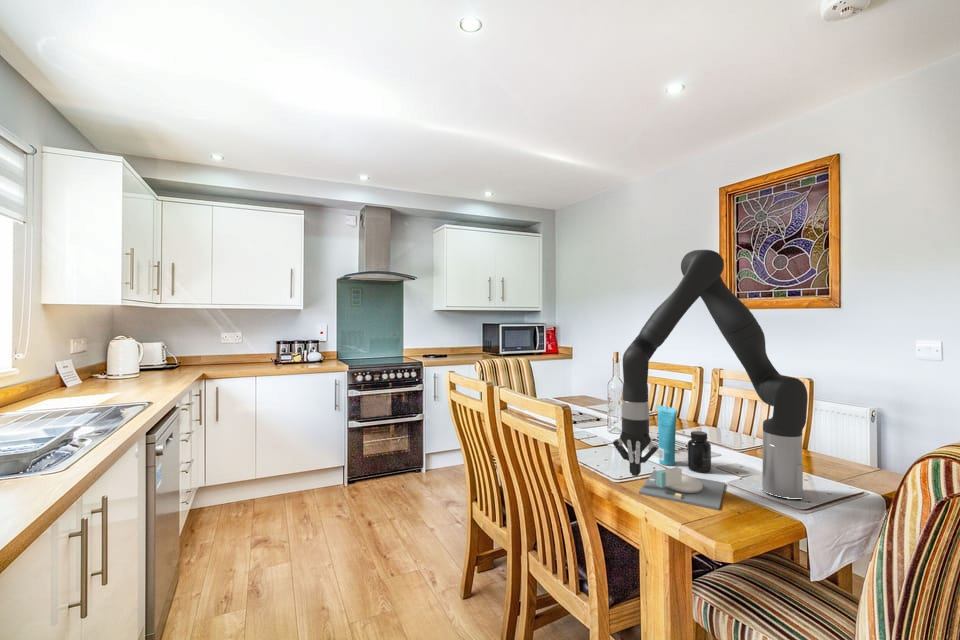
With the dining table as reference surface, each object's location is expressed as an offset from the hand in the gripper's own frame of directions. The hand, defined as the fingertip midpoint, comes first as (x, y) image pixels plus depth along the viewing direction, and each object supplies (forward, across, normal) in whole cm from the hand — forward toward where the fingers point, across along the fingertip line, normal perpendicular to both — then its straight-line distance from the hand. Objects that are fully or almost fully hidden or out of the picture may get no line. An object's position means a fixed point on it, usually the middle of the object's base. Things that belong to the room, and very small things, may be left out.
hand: (635, 475), depth 131 cm
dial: (+3, +11, +5) cm, 12 cm away
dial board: (+4, +12, +6) cm, 14 cm away
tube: (+4, +4, +28) cm, 28 cm away
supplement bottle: (+4, +14, +26) cm, 30 cm away
